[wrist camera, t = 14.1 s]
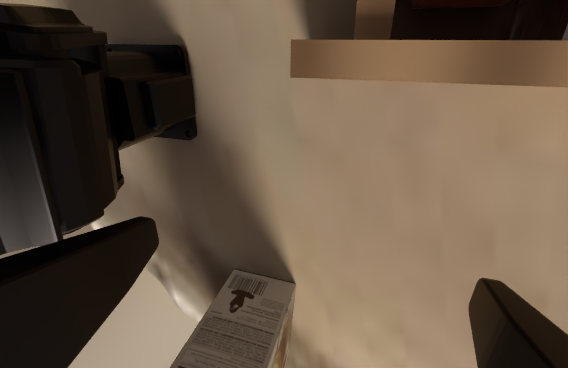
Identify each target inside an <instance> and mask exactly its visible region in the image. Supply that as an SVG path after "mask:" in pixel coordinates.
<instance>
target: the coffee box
mask: <svg viewBox="0 0 568 368" xmlns="http://www.w3.org/2000/svg"><path fill="white" fill-rule="evenodd" d="M295 289H296V285H295V284H293V283H290V282H286V281H281V280H277V279H273V278H269V277H265V276H260V275H256V274H252V273H247V272H243V271H239V270H233V271H232V273H231V274H230V276H229V278H228V279H227V281H226V282H225V284H224V285H223V287H222V288H221V290H220V291H219V293H218V294H217V296H216V297H215V299H214V300H213V302H212V304H211V305H210V307H209V308H208V310H207V311H206V313H205V315H204V316H203V318H202V319H201V321H200V322H199V324H198V325H197V327H196V328H195V330H194V332H193V333H192V335H191V336H190V338H189V339H188V341H187V342H186V344H185V345H184V347H183V348H182V350H181V351H180V353H179V354H178V356H177V357H176V359H175V361H174V362H173V364H172V365H171V367H170V368H284V367H285V364H286V360H287V356H288V352H289V346H290V337H291V327H292V317H293V308H294V298H295Z"/></svg>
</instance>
